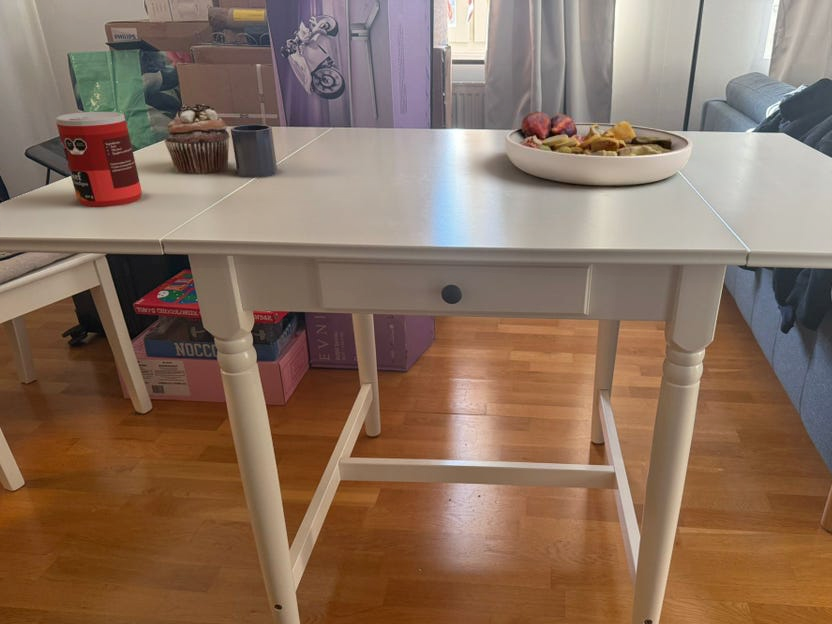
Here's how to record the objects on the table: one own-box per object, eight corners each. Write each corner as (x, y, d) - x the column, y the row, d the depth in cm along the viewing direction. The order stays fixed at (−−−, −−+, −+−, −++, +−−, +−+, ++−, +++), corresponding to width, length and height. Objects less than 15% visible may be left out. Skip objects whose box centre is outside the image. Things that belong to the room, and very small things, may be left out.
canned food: (78, 197, 93) (55, 113, 88) (141, 190, 97) (123, 110, 91) (78, 211, 87) (53, 122, 82) (145, 203, 91) (125, 118, 85)
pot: (229, 175, 105) (222, 128, 102) (257, 168, 110) (251, 123, 107) (258, 180, 103) (251, 132, 99) (285, 172, 107) (279, 126, 104)
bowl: (714, 165, 114) (723, 117, 111) (638, 202, 93) (646, 144, 89) (562, 144, 130) (565, 101, 126) (467, 171, 109) (467, 120, 105)
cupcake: (216, 160, 115) (205, 97, 110) (244, 169, 109) (234, 103, 104) (160, 168, 109) (146, 103, 104) (187, 179, 103) (173, 110, 98)
